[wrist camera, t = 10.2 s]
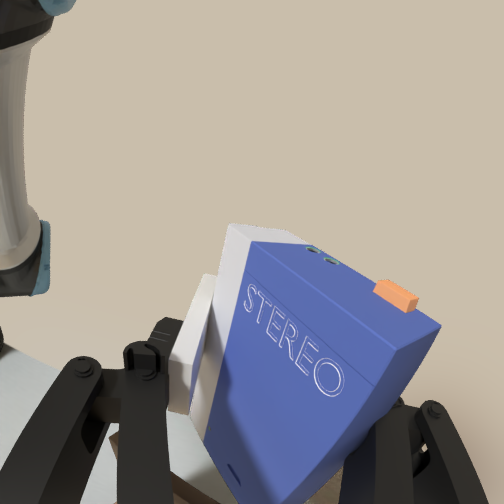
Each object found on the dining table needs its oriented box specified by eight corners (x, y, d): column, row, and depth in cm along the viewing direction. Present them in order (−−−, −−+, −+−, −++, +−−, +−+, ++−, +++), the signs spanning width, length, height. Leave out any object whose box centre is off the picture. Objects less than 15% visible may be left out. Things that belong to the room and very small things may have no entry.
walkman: (300, 505, 10) (448, 313, 6) (253, 527, 8) (404, 334, 5) (230, 408, 16) (285, 219, 12) (189, 416, 15) (227, 213, 11)
